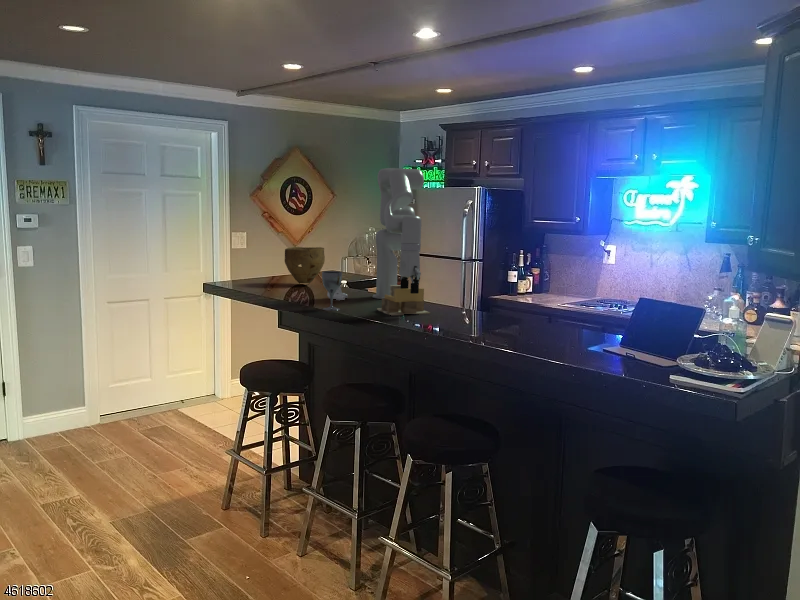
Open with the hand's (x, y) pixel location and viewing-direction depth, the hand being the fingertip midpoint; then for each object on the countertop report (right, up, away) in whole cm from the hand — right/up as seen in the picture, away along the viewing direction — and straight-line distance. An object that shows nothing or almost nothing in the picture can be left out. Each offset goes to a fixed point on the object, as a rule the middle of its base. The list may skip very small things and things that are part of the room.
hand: (409, 291), depth 255 cm
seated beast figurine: (-32, -3, +37) cm, 49 cm away
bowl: (-53, +4, +84) cm, 100 cm away
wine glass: (-31, -7, +7) cm, 33 cm away
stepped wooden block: (-3, -8, +7) cm, 11 cm away
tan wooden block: (-2, -3, +5) cm, 6 cm away
